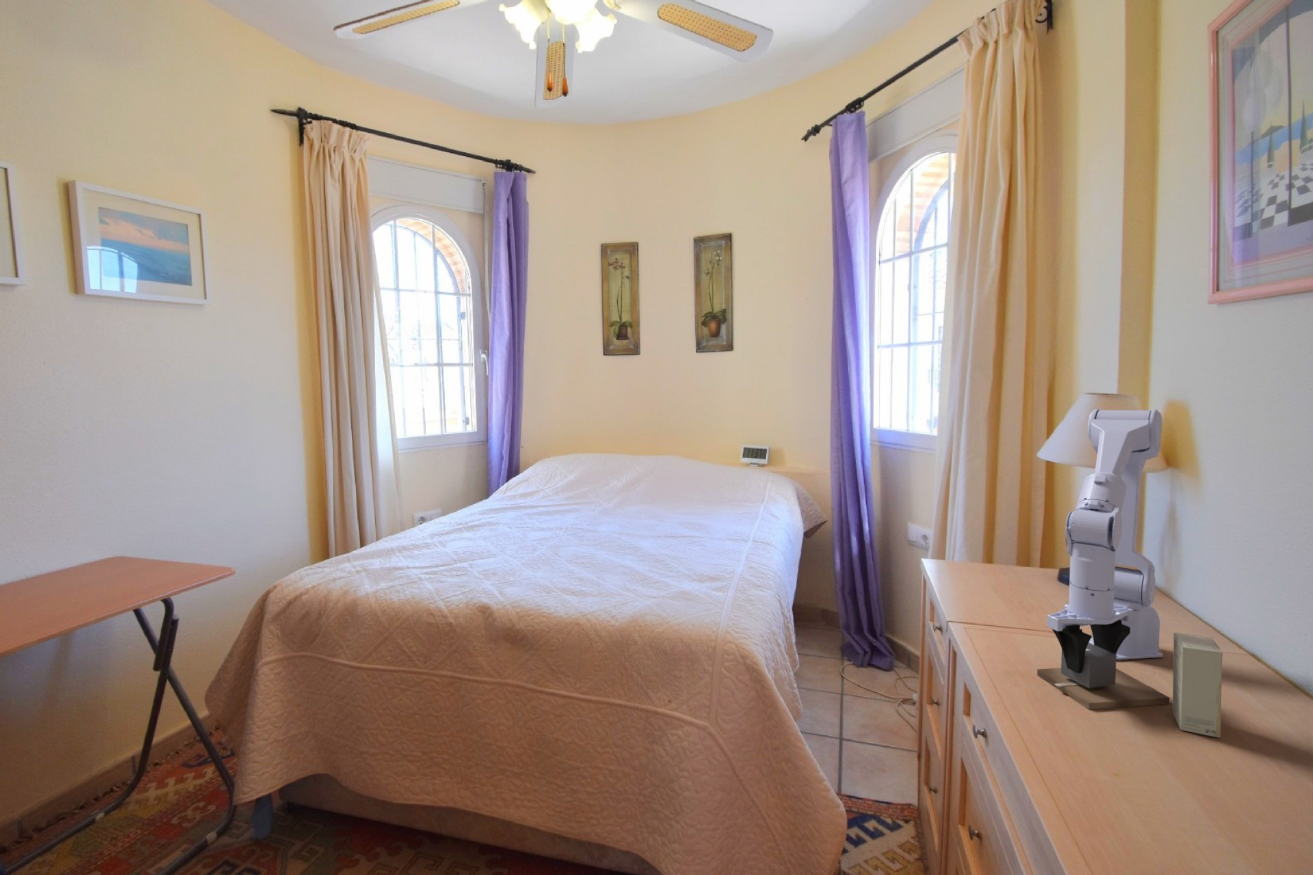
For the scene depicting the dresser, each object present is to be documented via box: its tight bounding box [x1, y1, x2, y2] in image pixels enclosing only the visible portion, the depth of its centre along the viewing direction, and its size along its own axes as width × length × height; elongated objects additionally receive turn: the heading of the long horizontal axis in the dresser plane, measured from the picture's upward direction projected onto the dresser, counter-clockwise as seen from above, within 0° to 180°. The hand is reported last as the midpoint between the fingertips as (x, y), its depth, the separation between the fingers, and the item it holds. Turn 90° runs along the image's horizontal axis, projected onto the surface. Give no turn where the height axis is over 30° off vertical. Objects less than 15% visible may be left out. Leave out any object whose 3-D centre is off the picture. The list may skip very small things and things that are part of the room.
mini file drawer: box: [1060, 643, 1117, 688], centre depth 95 cm, size 5×5×5 cm
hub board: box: [1036, 667, 1171, 710], centre depth 96 cm, size 14×11×4 cm
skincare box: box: [1172, 632, 1224, 739], centre depth 85 cm, size 6×4×12 cm
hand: (1088, 668), depth 95 cm, fingers closed on mini file drawer, 5 cm apart
